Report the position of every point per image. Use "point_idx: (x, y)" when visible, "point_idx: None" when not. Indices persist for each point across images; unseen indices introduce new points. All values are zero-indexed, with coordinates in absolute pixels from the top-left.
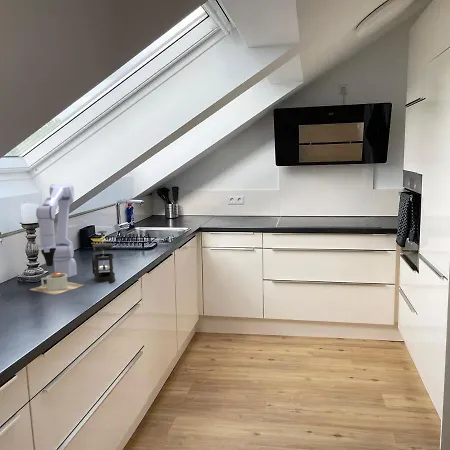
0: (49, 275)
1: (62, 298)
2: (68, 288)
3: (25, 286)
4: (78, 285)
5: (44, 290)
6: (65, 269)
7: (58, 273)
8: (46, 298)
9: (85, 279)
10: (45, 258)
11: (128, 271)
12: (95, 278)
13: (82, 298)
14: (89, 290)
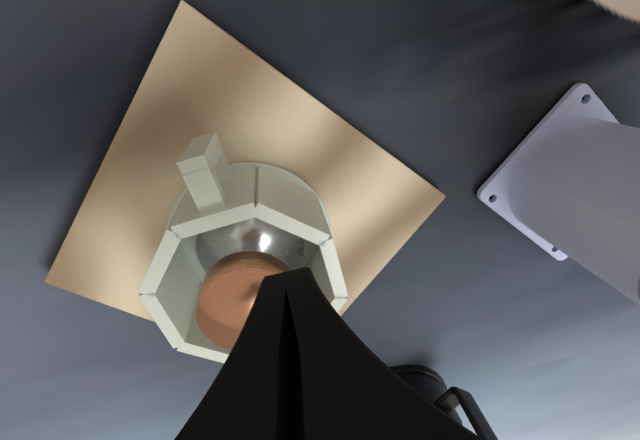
0: (274, 224)
1: (35, 321)
2: None
3: None
4: None
5: (154, 169)
6: (564, 246)
7: (234, 334)
8: (7, 226)
9: (470, 311)
10: (215, 394)
11: (545, 431)
12: None
13: (61, 409)
14: None
